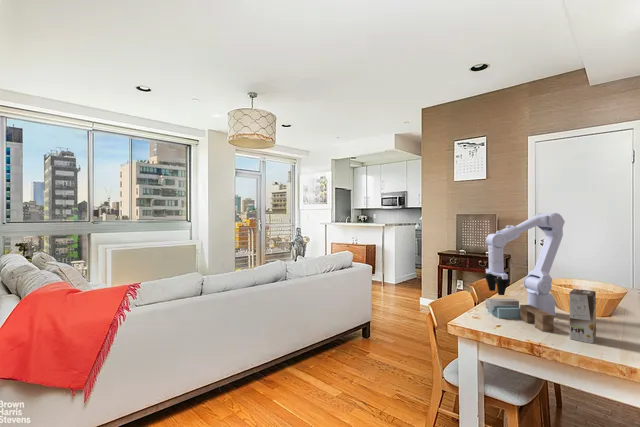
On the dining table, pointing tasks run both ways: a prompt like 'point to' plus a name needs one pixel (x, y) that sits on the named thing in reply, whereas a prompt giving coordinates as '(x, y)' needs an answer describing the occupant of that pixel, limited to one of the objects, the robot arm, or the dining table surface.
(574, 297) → the coffee box
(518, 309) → the v block
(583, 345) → the dining table surface
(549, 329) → the brown bridge block
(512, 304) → the grey rectangular bar
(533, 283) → the robot arm
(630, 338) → the dining table surface
